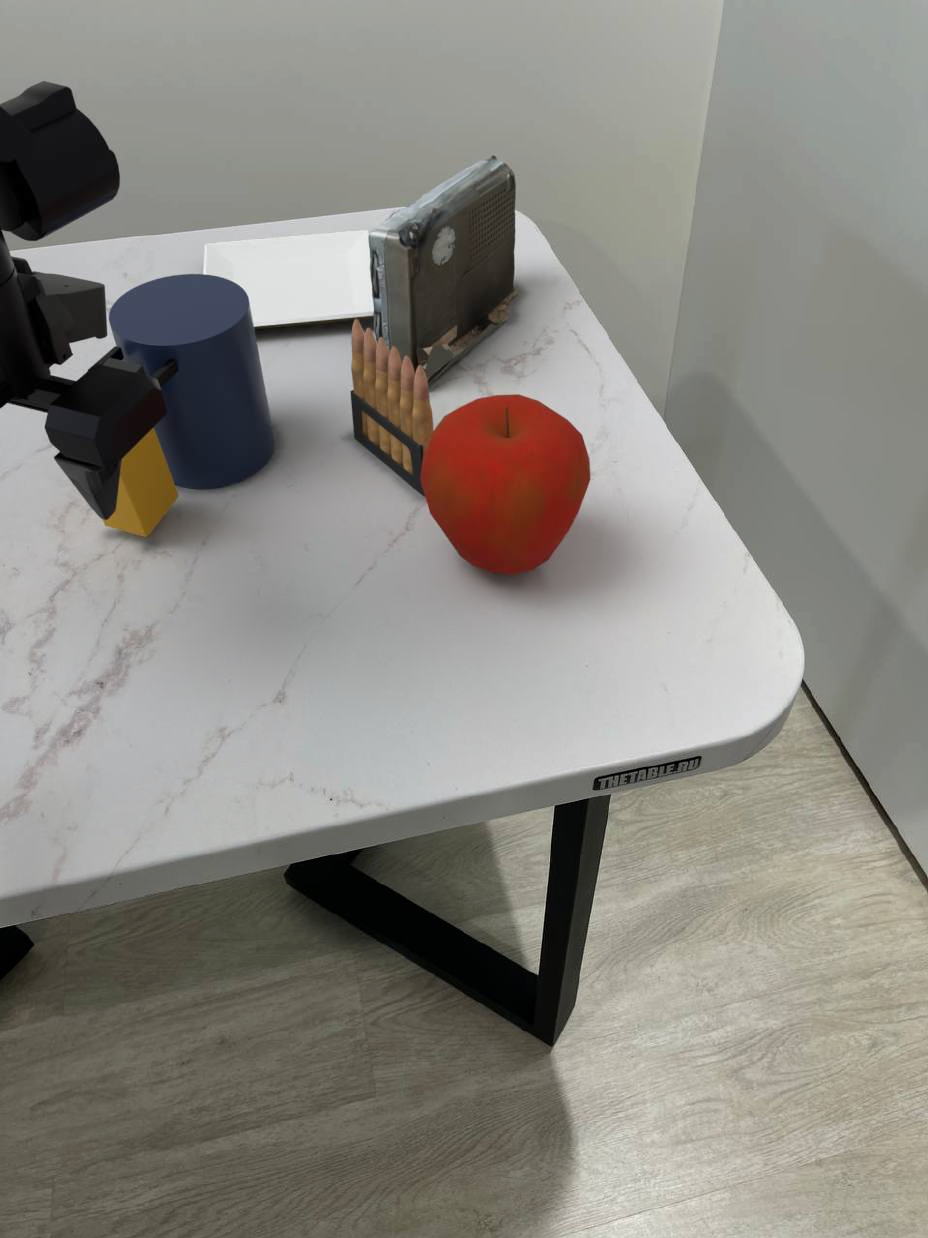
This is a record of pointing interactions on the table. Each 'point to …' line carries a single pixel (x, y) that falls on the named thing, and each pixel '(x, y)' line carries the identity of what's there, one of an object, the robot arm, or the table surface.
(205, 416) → the navy blue cylinder
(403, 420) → the ammunition clip
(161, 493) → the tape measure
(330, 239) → the plate
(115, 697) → the table surface
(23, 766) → the table surface
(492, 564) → the apple
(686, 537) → the table surface
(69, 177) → the robot arm
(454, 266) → the radio
